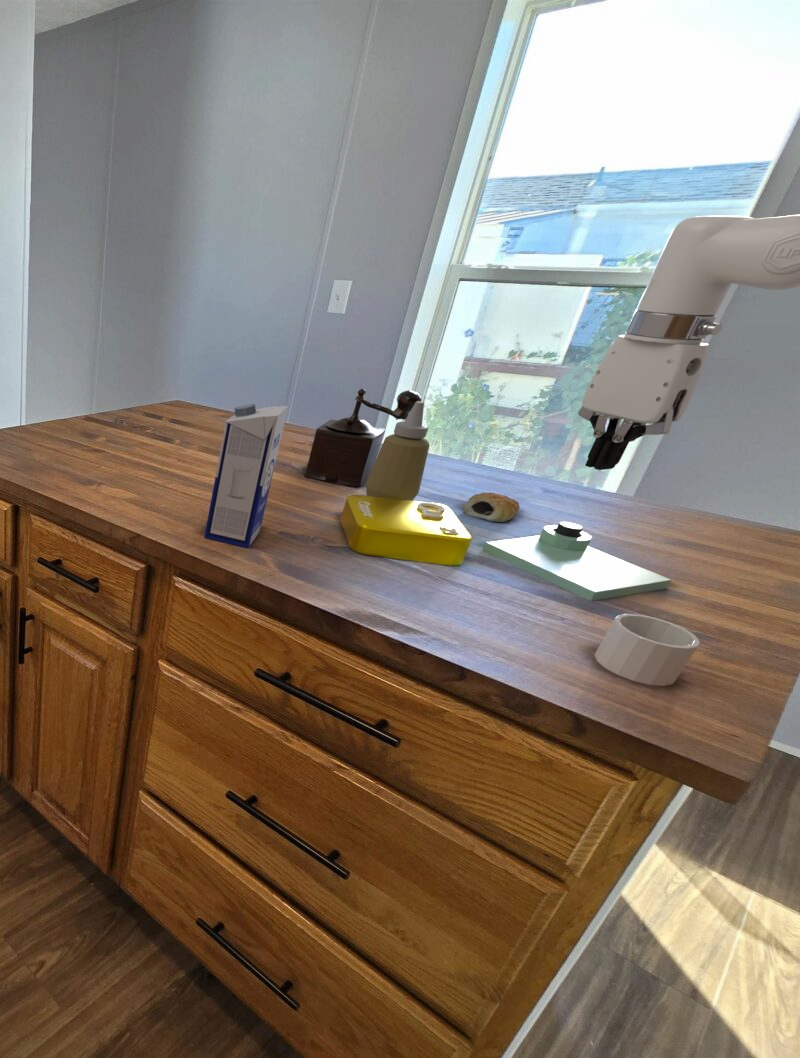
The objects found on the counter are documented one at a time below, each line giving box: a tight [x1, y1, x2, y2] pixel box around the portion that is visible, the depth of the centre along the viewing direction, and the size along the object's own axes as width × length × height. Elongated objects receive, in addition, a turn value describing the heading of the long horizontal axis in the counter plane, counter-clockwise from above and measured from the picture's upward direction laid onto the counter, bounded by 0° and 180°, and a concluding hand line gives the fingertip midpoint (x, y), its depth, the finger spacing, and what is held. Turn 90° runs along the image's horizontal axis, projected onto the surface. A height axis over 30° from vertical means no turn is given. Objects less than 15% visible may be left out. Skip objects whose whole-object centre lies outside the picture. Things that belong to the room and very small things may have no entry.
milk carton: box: [204, 403, 289, 549], centre depth 97 cm, size 7×7×20 cm
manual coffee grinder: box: [304, 388, 422, 488], centre depth 122 cm, size 16×11×18 cm
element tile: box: [340, 494, 473, 567], centre depth 100 cm, size 15×15×5 cm
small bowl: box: [594, 613, 701, 687], centre depth 70 cm, size 7×7×6 cm
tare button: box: [555, 521, 584, 538], centre depth 97 cm, size 3×3×2 cm
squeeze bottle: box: [365, 401, 430, 501], centre depth 109 cm, size 8×8×18 cm
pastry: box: [461, 491, 520, 523], centre depth 110 cm, size 9×7×4 cm
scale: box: [481, 524, 673, 602], centre depth 93 cm, size 16×14×3 cm
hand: (599, 467), depth 92 cm, fingers closed
